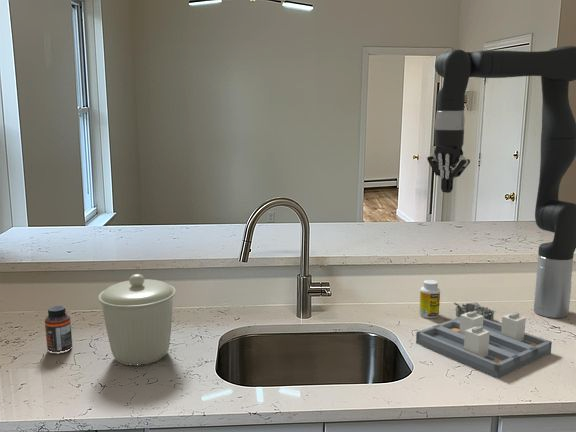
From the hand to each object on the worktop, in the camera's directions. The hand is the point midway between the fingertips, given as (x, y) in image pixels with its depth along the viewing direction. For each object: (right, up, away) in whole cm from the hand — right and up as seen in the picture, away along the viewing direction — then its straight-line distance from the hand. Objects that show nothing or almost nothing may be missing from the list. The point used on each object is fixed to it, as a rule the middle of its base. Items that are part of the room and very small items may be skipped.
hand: (446, 192), depth 158 cm
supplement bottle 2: (-2, -36, +11) cm, 37 cm away
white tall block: (+4, -38, -9) cm, 39 cm away
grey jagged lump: (+10, -36, +9) cm, 39 cm away
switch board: (+6, -40, -11) cm, 42 cm away
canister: (-79, -41, -15) cm, 91 cm away
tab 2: (+2, -40, -19) cm, 44 cm away
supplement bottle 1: (-101, -41, -11) cm, 109 cm away
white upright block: (+14, -38, -10) cm, 42 cm away
